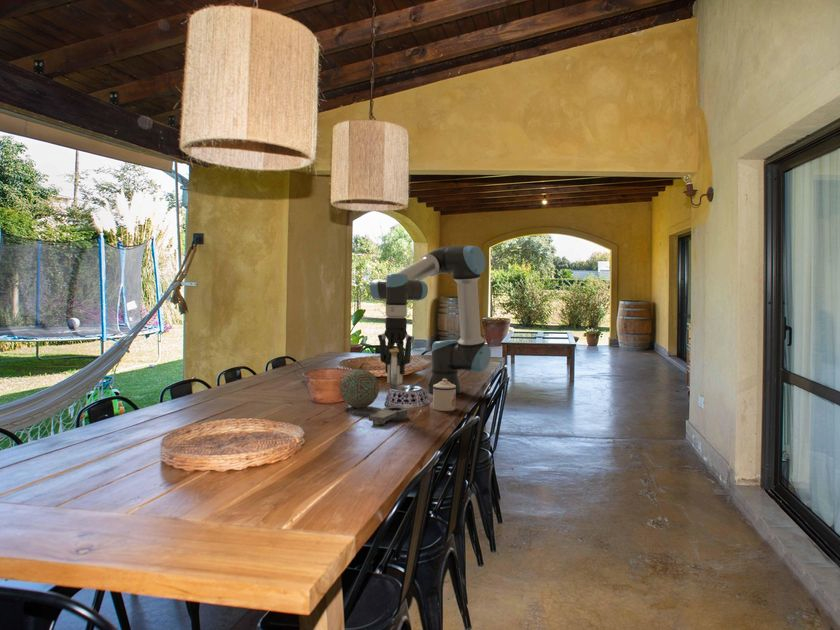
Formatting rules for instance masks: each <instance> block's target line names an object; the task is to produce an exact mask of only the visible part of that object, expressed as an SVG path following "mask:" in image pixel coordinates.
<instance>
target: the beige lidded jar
mask: <svg viewBox="0 0 840 630" xmlns="http://www.w3.org/2000/svg"><path fill="white" fill-rule="evenodd" d="M432 394H433V395H432V409H433V410H434V411H440V412H452V411H455V410H456V396H457V394H456V385H454V384H451V383H450V382H448V381H447V379H442V381H441V382H439V383H437V384H434V385H433V393H432Z"/></svg>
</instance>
